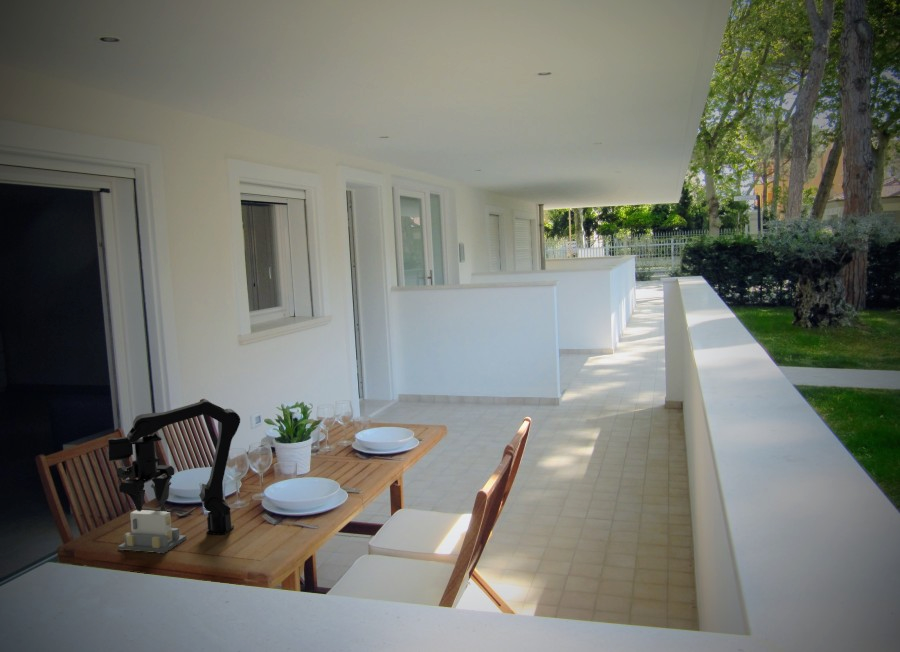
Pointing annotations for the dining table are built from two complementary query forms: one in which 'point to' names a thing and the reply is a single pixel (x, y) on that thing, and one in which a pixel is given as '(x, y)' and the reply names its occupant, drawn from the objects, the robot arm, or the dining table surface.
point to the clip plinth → (151, 541)
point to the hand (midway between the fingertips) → (149, 505)
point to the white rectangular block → (151, 523)
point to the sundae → (165, 496)
